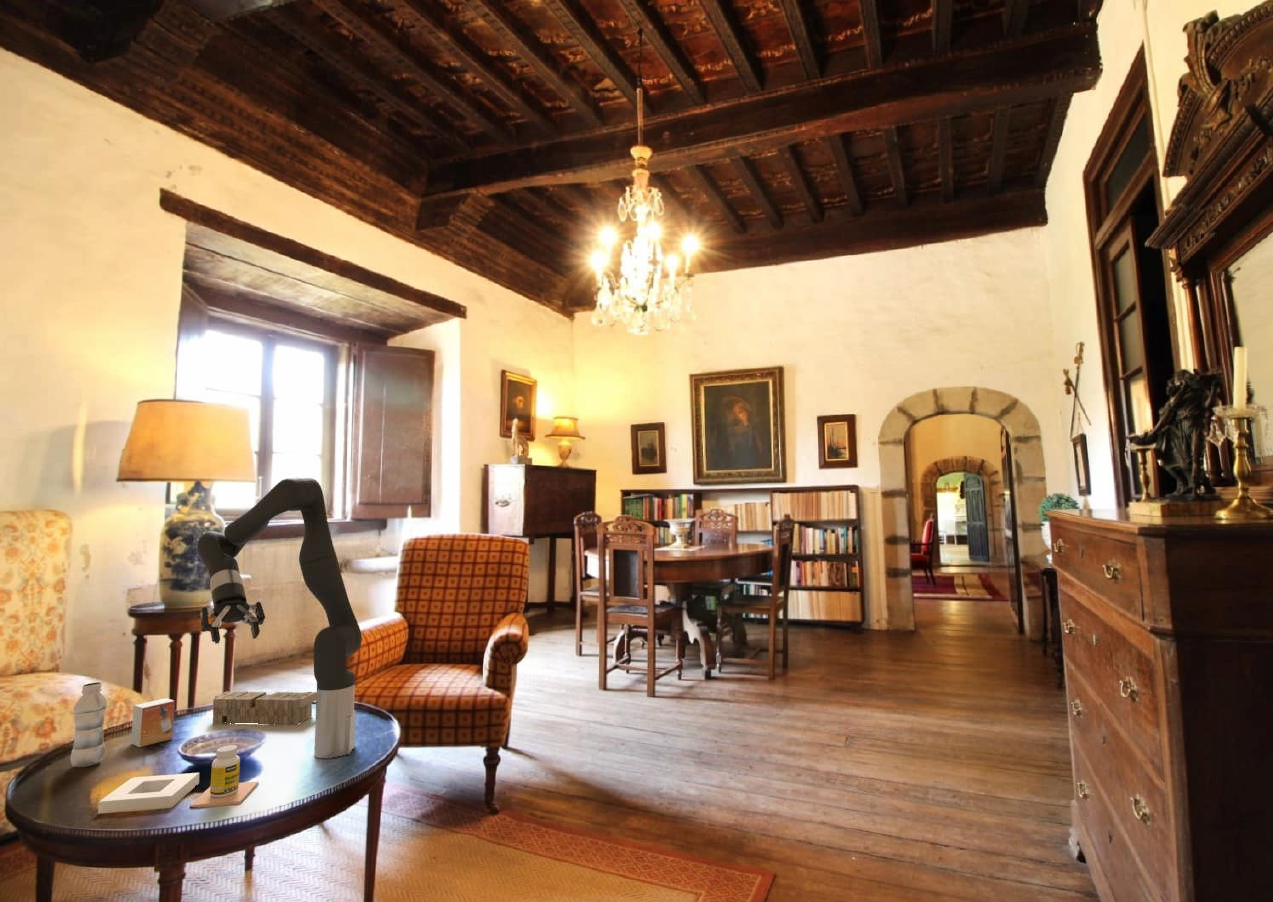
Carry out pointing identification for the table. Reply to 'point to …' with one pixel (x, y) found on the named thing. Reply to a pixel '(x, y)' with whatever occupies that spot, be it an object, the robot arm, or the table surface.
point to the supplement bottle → (225, 772)
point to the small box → (152, 722)
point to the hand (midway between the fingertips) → (237, 639)
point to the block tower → (263, 707)
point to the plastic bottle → (89, 726)
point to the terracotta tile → (235, 798)
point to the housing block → (149, 793)
